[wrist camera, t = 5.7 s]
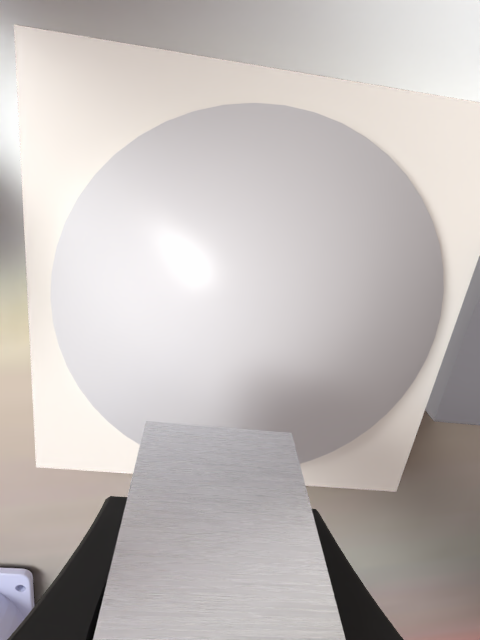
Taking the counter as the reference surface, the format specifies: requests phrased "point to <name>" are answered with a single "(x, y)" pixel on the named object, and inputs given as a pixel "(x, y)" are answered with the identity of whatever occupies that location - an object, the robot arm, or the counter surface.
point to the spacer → (217, 543)
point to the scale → (243, 256)
